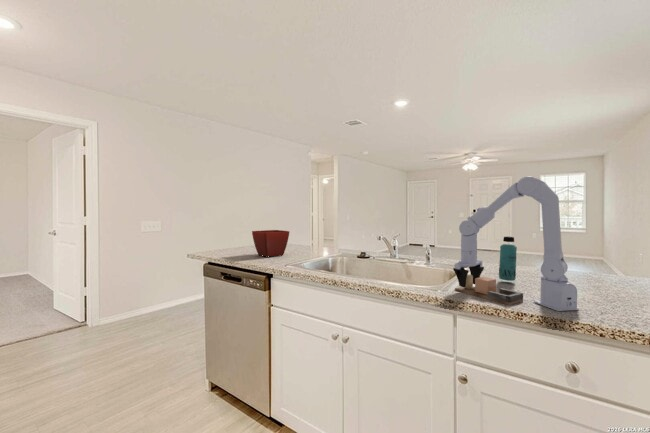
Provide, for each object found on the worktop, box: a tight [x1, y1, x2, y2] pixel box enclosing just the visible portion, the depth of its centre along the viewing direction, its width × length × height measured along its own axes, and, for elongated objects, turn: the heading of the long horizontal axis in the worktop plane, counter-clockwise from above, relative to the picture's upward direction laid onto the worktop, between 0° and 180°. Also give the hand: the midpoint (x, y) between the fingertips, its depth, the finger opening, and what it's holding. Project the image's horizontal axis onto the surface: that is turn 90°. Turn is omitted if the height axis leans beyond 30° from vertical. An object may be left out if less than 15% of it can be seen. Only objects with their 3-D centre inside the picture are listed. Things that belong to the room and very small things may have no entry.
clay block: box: [464, 273, 497, 295], centre depth 118 cm, size 11×5×5 cm, turn 30°
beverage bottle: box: [498, 236, 518, 282], centre depth 133 cm, size 6×7×20 cm
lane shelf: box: [454, 286, 524, 306], centre depth 114 cm, size 21×8×3 cm, turn 30°
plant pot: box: [251, 229, 290, 258], centre depth 209 cm, size 19×19×17 cm
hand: (468, 285), depth 121 cm, fingers open, 7 cm apart
